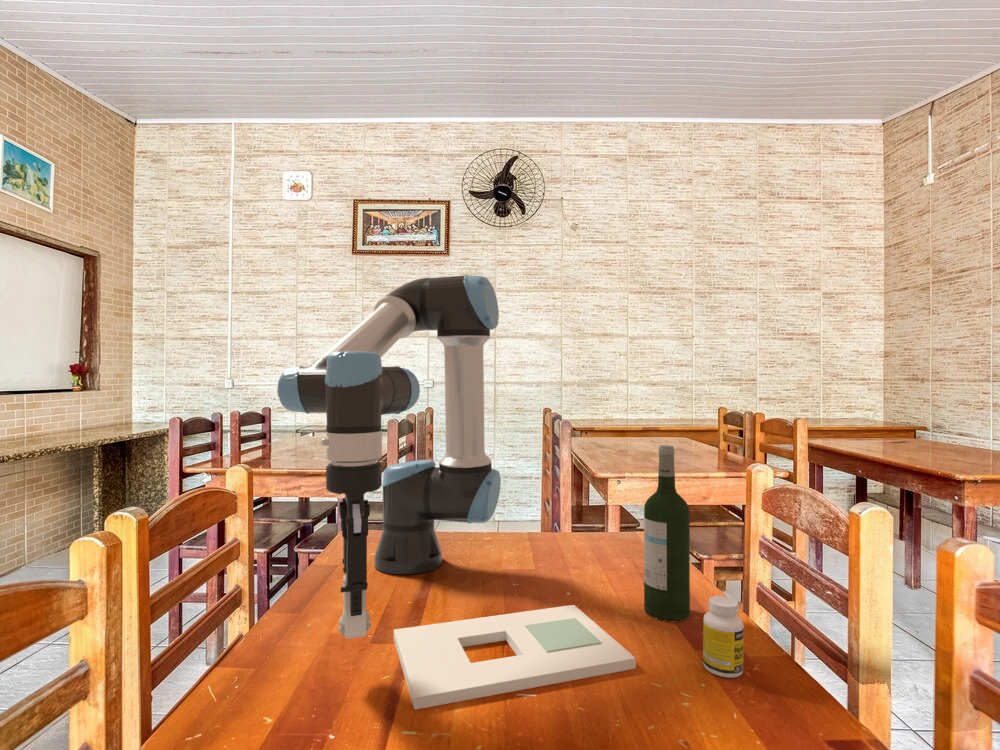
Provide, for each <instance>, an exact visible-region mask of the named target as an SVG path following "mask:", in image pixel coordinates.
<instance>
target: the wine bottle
mask: <svg viewBox="0 0 1000 750" xmlns="http://www.w3.org/2000/svg"><path fill="white" fill-rule="evenodd" d="M657 474H658V475H657V476H658V477H657V488H656V491H655V492H654V493H653V494H652V495H650V496H649V497H648V499H646V500H645V501H646V502H645V503H644V508H643V511H644V512H643V516H644V517H643V534H644V535H643V536H644V537H643V539H644V540H643V545H644V546H643V564H644V565H643V568H644V569H643V571H644V572H643V573H644V574H643V575H644V576H643V577H644V578H643V586H644V587H643V593H644V594H643V597H644V598H643V601H644V602H643V603H644V604H643V608H644V612H645V613H646V615H647V616H649V615H650V616H649V617H651V616H652V617H651V618H653V617H654V618H653V619H655V618H657V619H656V620H658V619H660V620H659V621H662V620H666V621H665V622H668V621H678V622H681V621H680V620H683V621H685V620H687V619H688V618H689V617H690V615H691V595H690V594H691V588H690V585H691V584H690V583H691V579H690V577H691V573H690V572H691V569H690V568H691V563H690V562H691V561H690V560H691V557H690V556H691V553H690V552H691V551H690V549H691V548H690V547H691V545H690V543H691V541H690V540H691V539H690V536H691V534H690V533H691V529H690V528H691V527H690V518H691V517H690V515H691V513H690V508H689V505H688V503H687V501H686V500H685V499H684V498H683V497H682V496H681V495H680V494H679V493H678V492H677V489H676V476H675V475H676V473H675V448H674V445H668V444H662V445H661V444H660V445H659V447H658V473H657ZM686 618H687V619H686ZM684 619H685V620H684Z"/></svg>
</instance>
